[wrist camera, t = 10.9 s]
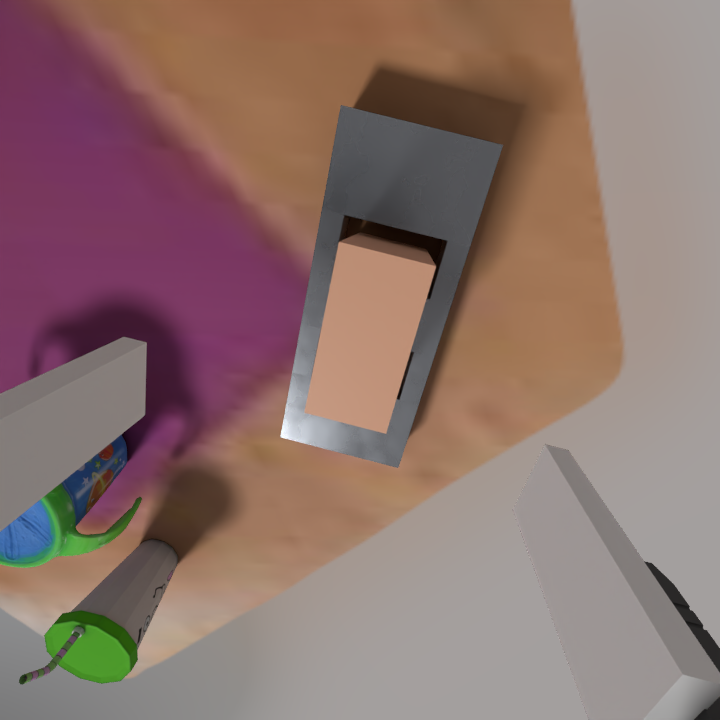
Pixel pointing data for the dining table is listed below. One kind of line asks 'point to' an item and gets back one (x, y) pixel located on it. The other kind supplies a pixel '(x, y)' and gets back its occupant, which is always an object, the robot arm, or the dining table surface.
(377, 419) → the tan bridge block
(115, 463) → the snack cup
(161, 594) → the cup
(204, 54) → the dining table surface
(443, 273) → the rail
